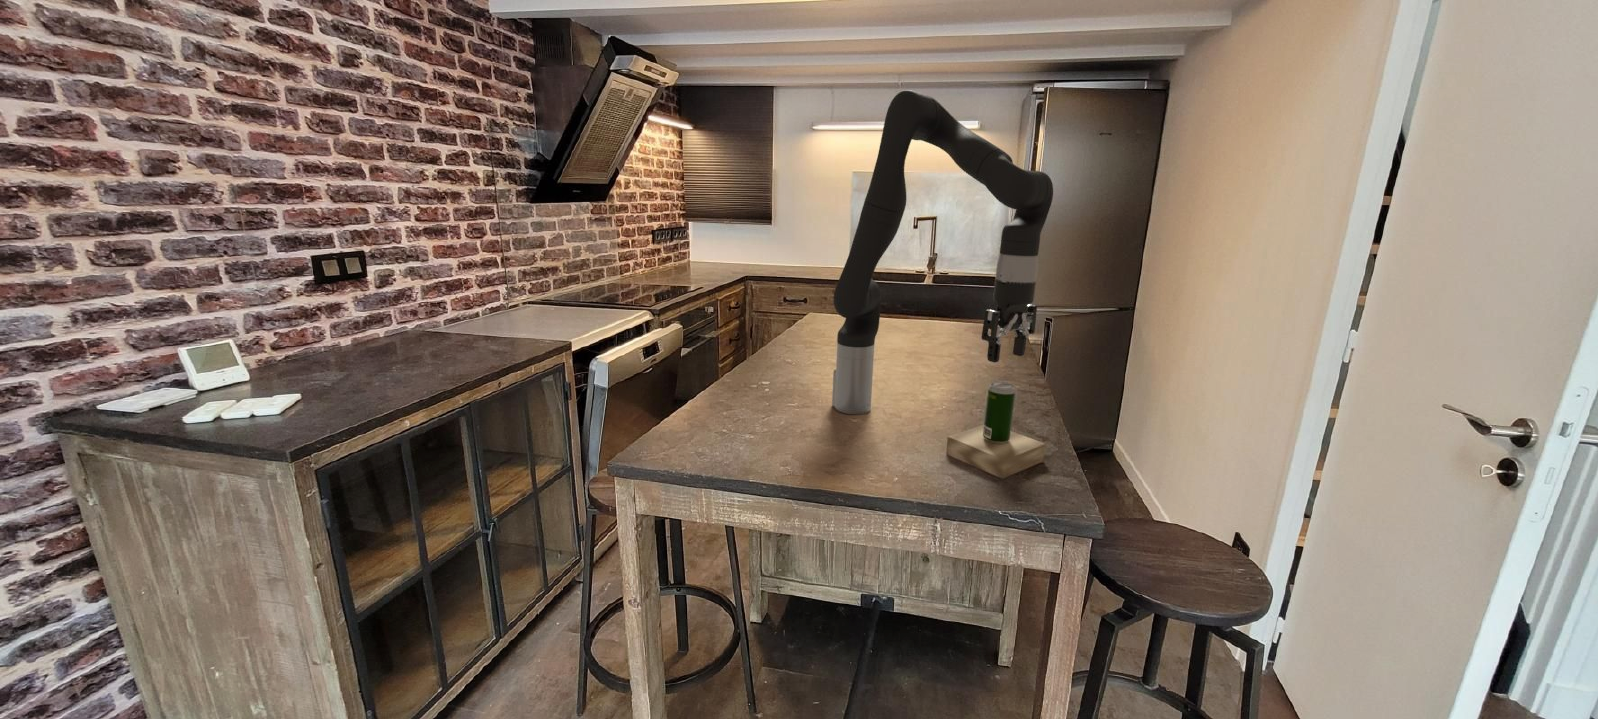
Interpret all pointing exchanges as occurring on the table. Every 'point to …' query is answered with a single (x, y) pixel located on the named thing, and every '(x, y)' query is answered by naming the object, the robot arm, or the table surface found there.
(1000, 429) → the beer can
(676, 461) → the table surface
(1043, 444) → the oak pedestal
